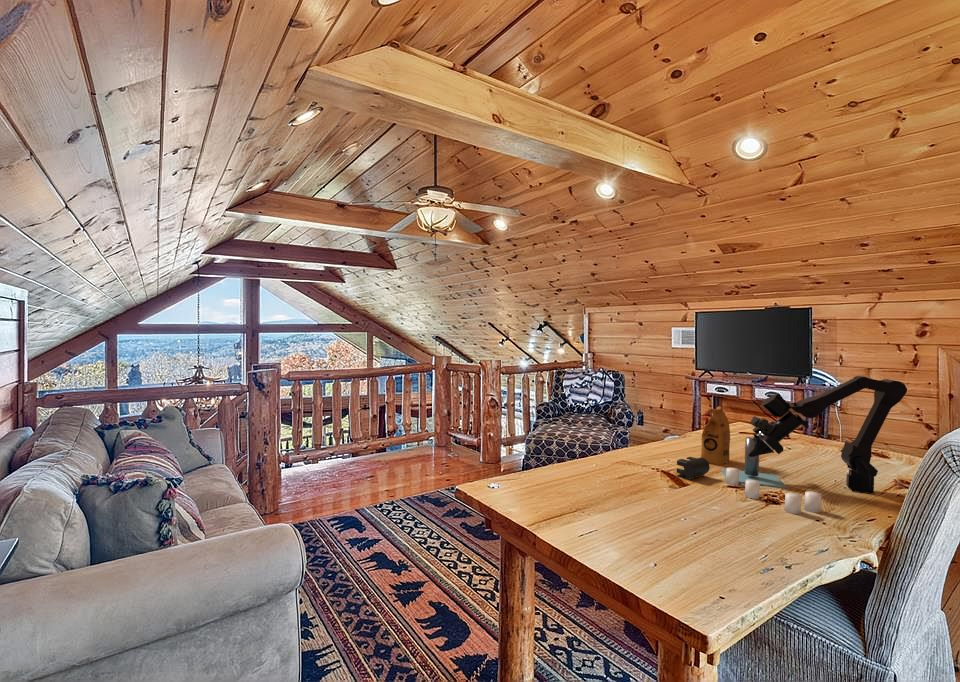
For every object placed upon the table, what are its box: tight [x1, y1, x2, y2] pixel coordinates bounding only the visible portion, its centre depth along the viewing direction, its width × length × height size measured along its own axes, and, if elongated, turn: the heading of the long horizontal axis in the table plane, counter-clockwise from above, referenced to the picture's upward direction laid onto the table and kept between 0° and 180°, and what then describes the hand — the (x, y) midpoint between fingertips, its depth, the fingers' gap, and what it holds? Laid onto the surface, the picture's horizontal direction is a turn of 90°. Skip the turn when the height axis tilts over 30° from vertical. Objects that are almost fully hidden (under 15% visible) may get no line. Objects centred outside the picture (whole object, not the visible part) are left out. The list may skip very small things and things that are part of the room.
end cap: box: [676, 456, 711, 480], centre depth 170 cm, size 10×7×7 cm
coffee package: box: [700, 405, 731, 466], centre depth 191 cm, size 10×12×22 cm
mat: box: [720, 468, 788, 489], centre depth 169 cm, size 18×14×1 cm
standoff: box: [744, 436, 760, 476], centre depth 169 cm, size 4×4×13 cm
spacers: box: [725, 467, 822, 515], centre depth 152 cm, size 14×29×5 cm, turn 11°
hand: (747, 454), depth 169 cm, fingers closed on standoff, 4 cm apart
